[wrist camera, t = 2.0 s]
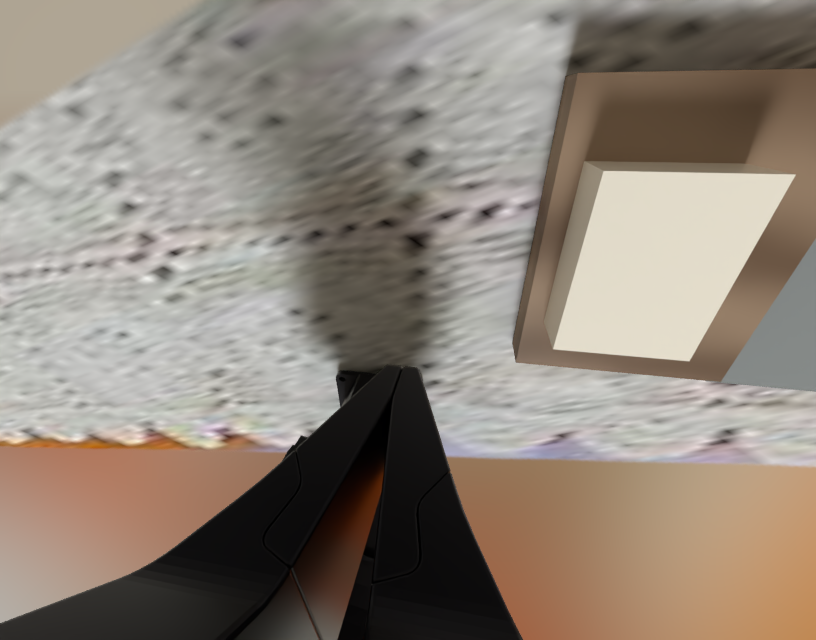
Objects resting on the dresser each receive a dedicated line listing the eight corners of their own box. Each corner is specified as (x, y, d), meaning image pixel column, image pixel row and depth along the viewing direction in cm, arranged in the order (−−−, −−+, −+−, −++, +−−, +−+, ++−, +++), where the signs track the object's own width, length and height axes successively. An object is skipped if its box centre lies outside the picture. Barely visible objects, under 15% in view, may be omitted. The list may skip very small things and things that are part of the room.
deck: (700, 359, 20) (720, 381, 19) (512, 342, 22) (515, 362, 20) (870, 71, 13) (929, 66, 11) (565, 76, 14) (577, 73, 13)
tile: (663, 330, 18) (689, 361, 16) (544, 321, 18) (553, 349, 16) (745, 163, 13) (795, 174, 11) (584, 161, 14) (603, 170, 12)
